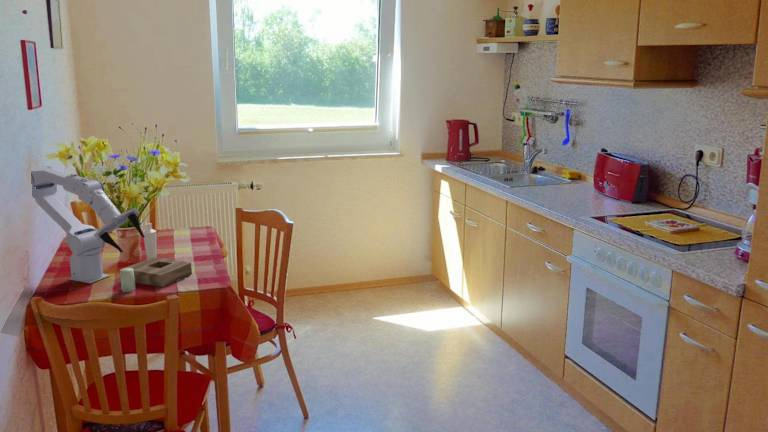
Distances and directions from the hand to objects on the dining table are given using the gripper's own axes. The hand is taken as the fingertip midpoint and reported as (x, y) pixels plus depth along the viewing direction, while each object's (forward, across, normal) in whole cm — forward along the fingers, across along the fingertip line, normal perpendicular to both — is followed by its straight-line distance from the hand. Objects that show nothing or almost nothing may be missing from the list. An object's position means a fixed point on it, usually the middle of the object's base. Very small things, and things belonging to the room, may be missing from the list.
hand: (132, 243), depth 196 cm
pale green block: (+8, -9, +8) cm, 15 cm away
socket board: (+8, 0, +17) cm, 19 cm away
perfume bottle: (-1, +1, +29) cm, 29 cm away
